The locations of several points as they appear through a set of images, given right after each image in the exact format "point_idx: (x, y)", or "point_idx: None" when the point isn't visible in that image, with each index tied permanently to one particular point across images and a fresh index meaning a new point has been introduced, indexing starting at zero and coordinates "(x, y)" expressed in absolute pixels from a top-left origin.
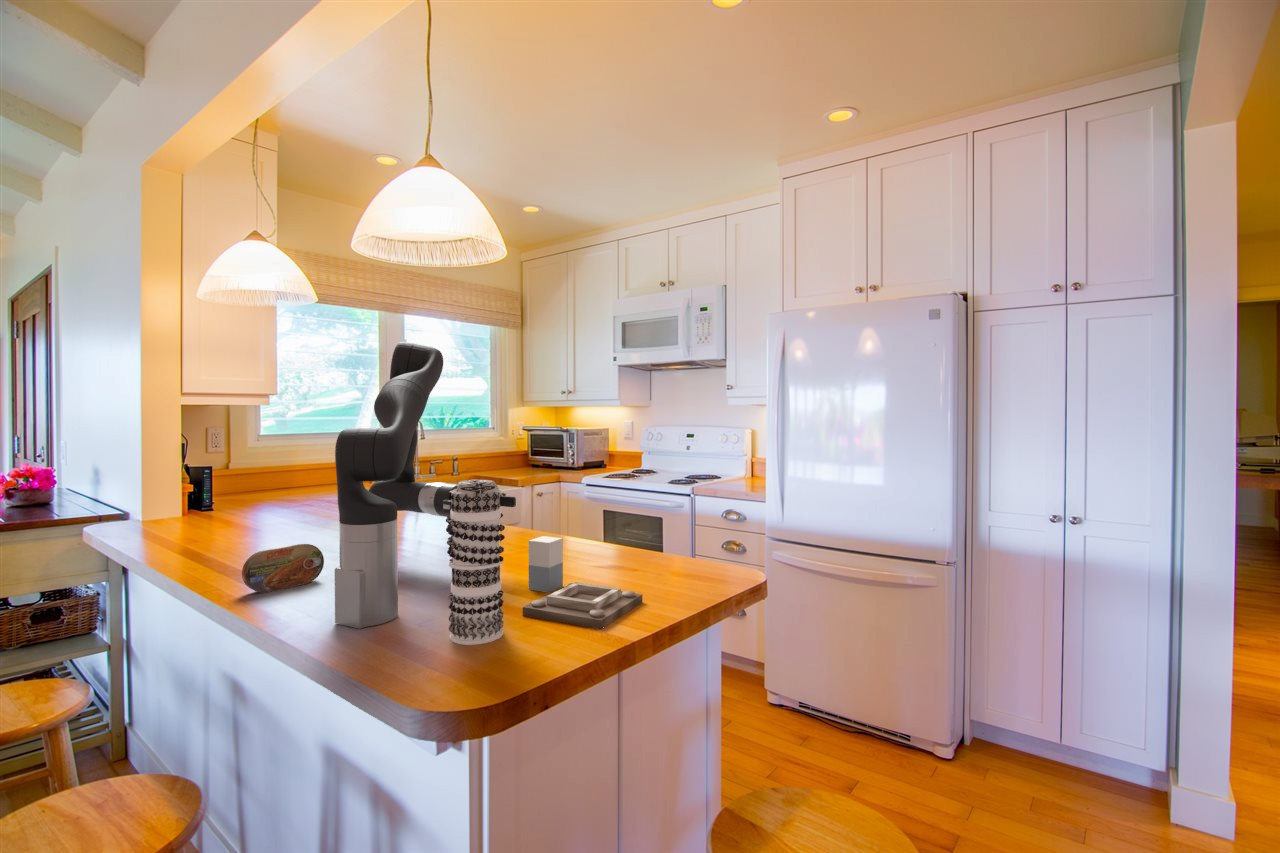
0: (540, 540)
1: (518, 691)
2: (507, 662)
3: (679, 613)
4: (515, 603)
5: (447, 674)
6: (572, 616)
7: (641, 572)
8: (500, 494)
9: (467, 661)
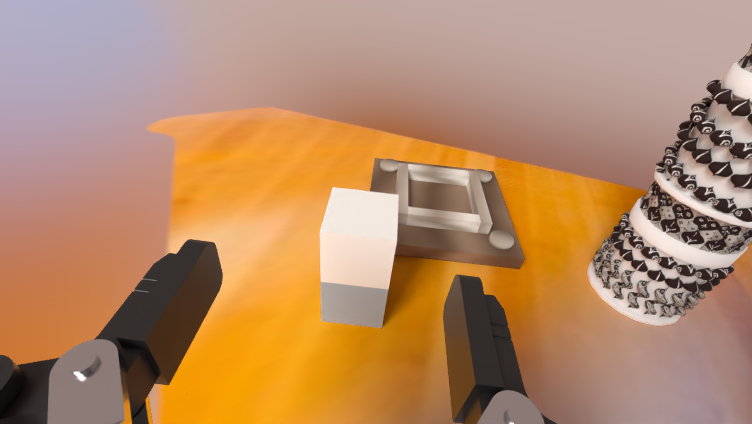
0: (382, 216)
1: None
2: None
3: (396, 140)
4: None
5: None
6: (502, 197)
7: (202, 191)
8: (90, 354)
9: None
